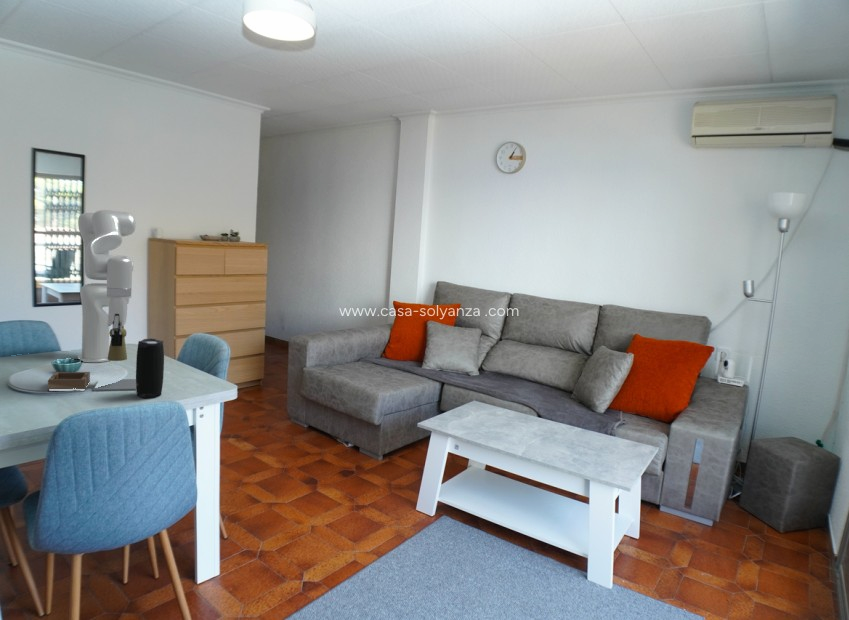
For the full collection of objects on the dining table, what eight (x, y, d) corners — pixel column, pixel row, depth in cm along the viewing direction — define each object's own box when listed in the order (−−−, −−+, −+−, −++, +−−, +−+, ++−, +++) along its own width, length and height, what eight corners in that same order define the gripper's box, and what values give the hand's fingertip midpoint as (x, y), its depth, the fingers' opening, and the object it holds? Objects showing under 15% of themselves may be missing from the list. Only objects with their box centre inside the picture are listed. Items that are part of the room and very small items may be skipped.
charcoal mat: (98, 381, 195) (98, 379, 195) (138, 380, 200) (138, 379, 200) (92, 391, 183) (92, 389, 183) (135, 390, 188) (135, 388, 188)
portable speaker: (136, 400, 178) (138, 343, 176) (134, 392, 186) (135, 338, 184) (164, 398, 183) (166, 342, 180) (161, 390, 190) (162, 337, 188)
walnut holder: (54, 383, 188) (55, 372, 187) (89, 383, 192) (90, 372, 191) (47, 392, 178) (48, 380, 178) (84, 391, 182) (84, 379, 182)
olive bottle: (103, 358, 189) (104, 327, 188) (120, 356, 194) (121, 326, 193) (114, 361, 186) (115, 330, 185) (130, 359, 192) (131, 328, 190)
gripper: (109, 289, 194) (108, 339, 196) (103, 295, 178) (101, 349, 181) (133, 290, 197) (132, 339, 199) (128, 296, 182) (127, 349, 184)
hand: (117, 343), depth 190 cm, fingers closed on olive bottle, 5 cm apart
